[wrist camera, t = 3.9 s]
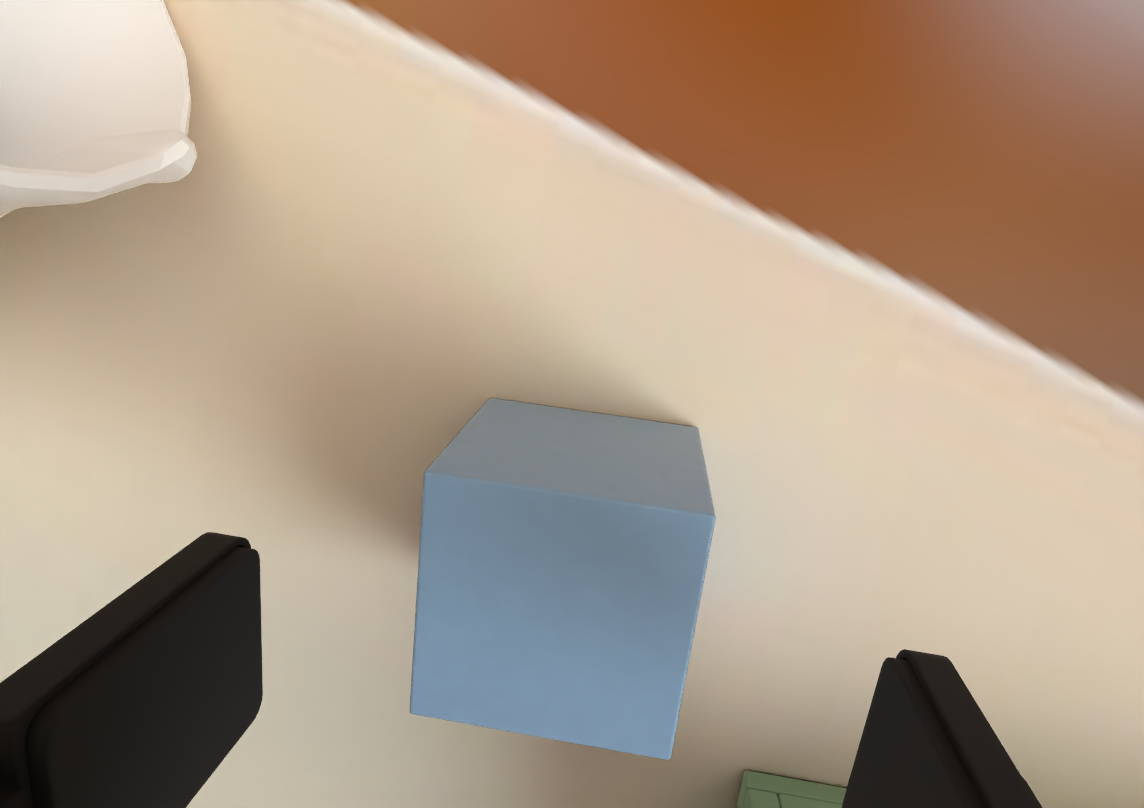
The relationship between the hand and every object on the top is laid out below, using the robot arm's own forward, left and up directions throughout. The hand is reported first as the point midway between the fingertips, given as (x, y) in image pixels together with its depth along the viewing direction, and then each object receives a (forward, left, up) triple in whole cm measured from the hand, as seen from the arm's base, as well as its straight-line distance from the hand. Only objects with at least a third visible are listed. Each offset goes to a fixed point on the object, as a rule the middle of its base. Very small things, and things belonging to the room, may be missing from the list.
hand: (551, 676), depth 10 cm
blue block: (0, 0, -7) cm, 7 cm away
